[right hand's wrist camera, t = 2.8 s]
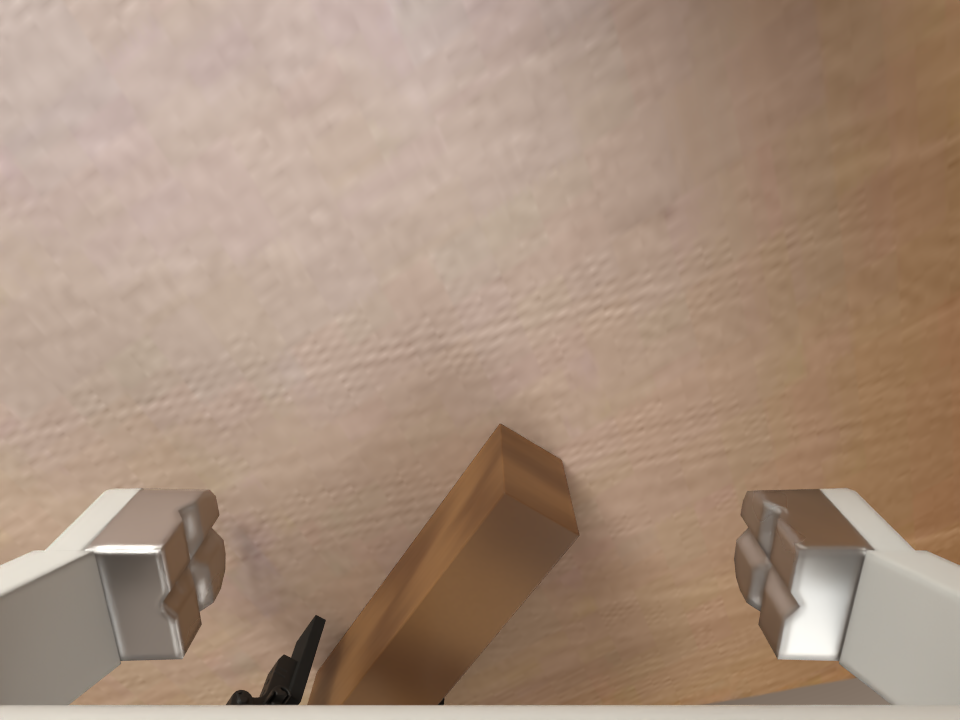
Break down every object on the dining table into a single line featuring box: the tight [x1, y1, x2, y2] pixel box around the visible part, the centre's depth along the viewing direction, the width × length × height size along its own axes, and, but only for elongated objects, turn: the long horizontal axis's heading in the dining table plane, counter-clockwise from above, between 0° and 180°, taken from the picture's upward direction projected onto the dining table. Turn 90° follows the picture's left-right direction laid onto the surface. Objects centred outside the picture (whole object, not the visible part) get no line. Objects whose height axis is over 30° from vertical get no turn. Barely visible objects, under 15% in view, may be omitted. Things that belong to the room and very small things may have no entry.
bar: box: [308, 424, 579, 705], centre depth 40 cm, size 24×5×8 cm, turn 147°
